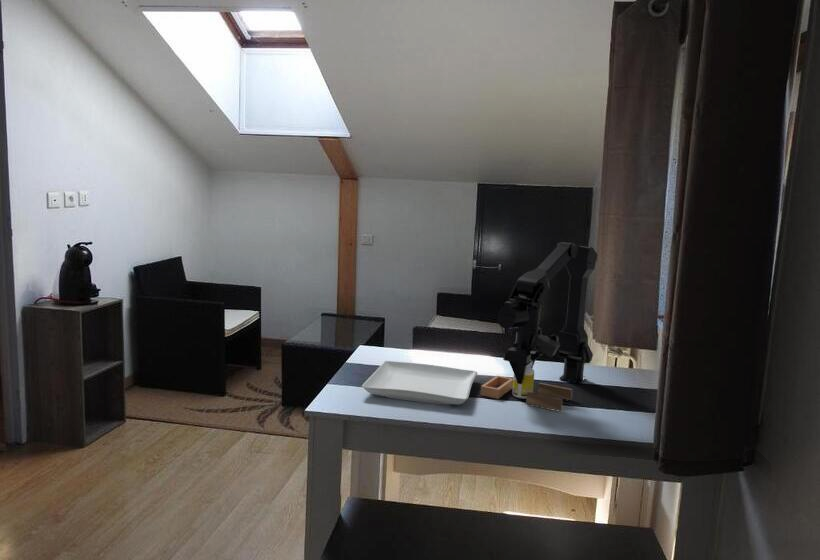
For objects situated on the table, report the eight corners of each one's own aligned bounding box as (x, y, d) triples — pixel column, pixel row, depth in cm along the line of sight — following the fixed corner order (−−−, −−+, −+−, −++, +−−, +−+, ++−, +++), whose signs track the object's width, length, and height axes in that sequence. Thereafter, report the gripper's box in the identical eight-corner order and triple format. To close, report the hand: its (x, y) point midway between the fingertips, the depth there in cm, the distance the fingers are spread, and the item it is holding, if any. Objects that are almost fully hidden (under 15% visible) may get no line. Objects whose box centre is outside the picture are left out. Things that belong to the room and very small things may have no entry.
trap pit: (496, 384, 183) (496, 375, 182) (513, 387, 180) (513, 378, 180) (480, 395, 172) (481, 386, 172) (498, 398, 170) (498, 389, 169)
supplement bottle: (535, 395, 174) (538, 360, 173) (528, 400, 169) (531, 364, 168) (516, 391, 177) (519, 356, 175) (508, 396, 172) (511, 360, 171)
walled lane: (538, 393, 177) (539, 382, 176) (571, 399, 173) (572, 389, 172) (525, 404, 167) (526, 393, 166) (560, 411, 163) (561, 400, 162)
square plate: (466, 413, 159) (467, 397, 158) (359, 399, 164) (360, 385, 164) (477, 381, 185) (478, 368, 185) (384, 371, 190) (385, 358, 190)
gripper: (548, 335, 158) (542, 396, 161) (567, 322, 175) (562, 378, 177) (504, 328, 163) (500, 387, 166) (527, 316, 180) (523, 371, 182)
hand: (523, 381), depth 173 cm, fingers closed on supplement bottle, 5 cm apart
